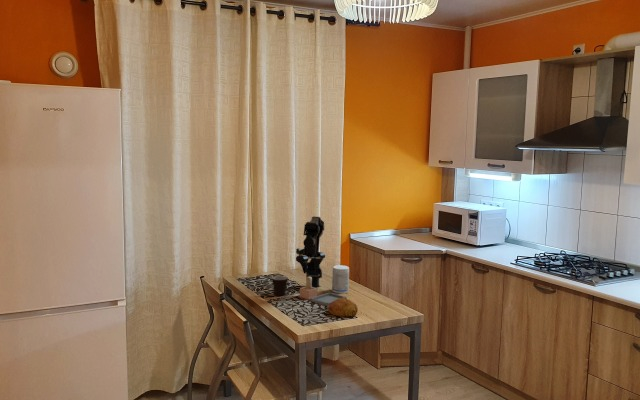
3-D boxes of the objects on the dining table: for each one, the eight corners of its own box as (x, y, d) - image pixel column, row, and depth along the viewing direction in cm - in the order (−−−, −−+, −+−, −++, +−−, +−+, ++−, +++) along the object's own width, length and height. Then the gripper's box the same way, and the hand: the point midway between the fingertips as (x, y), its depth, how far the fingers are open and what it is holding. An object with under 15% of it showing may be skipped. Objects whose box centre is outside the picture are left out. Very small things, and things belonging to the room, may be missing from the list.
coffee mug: (284, 298, 279) (285, 280, 277) (269, 297, 280) (270, 279, 279) (290, 292, 290) (290, 275, 289) (275, 291, 292) (276, 274, 290)
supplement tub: (331, 289, 299) (332, 264, 298) (347, 289, 299) (348, 265, 297) (332, 294, 289) (332, 268, 288) (348, 294, 289) (349, 269, 288)
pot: (307, 295, 286) (308, 285, 285) (317, 297, 281) (317, 288, 281) (299, 297, 280) (300, 288, 280) (308, 300, 276) (309, 290, 275)
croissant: (346, 310, 268) (346, 295, 268) (362, 315, 254) (362, 299, 254) (322, 313, 262) (322, 297, 262) (337, 318, 248) (336, 302, 248)
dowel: (308, 295, 283) (308, 276, 282) (312, 296, 281) (312, 277, 280) (304, 296, 280) (305, 277, 279) (308, 298, 279) (309, 278, 277)
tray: (329, 296, 285) (329, 292, 285) (346, 300, 278) (346, 296, 277) (310, 302, 273) (310, 298, 273) (327, 307, 265) (327, 303, 265)
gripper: (311, 240, 295) (310, 266, 297) (289, 244, 281) (288, 272, 283) (326, 243, 288) (325, 270, 290) (303, 247, 274) (303, 275, 276)
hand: (310, 272), depth 285 cm, fingers open, 9 cm apart
